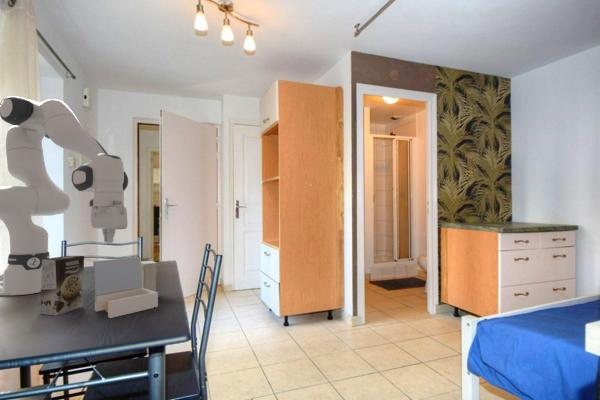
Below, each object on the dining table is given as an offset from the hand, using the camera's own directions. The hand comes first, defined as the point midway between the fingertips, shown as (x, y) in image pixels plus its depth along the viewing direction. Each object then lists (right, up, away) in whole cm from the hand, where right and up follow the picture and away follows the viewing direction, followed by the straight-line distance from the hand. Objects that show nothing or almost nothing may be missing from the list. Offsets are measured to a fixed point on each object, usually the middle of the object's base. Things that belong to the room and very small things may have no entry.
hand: (108, 242), depth 112 cm
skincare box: (+11, -20, +5) cm, 23 cm away
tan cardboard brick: (+9, -20, -11) cm, 24 cm away
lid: (+7, -10, -6) cm, 13 cm away
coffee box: (-7, -19, -11) cm, 24 cm away
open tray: (+11, -19, -9) cm, 24 cm away
